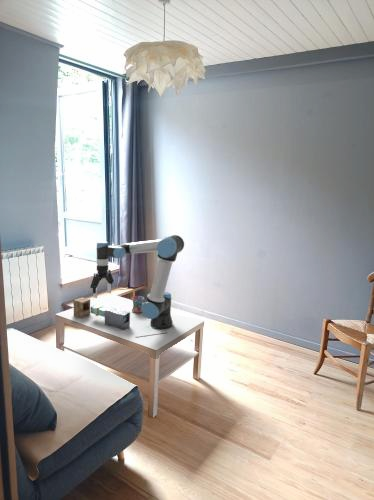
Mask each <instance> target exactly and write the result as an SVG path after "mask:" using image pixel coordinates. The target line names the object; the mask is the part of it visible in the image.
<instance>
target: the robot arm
mask: <svg viewBox="0 0 374 500" xmlns="http://www.w3.org/2000/svg"><path fill="white" fill-rule="evenodd" d="M184 247H185V241H184V239H183V237H181V236H180V235H177V234H174V235H169V236H166V237H163V238H162V239H154V240H144V241H136V242H125V243H122V244H118V245H110V244H109V242H108V241H105V240H104V241H101V240H100V241H98V242H96V249H95V250H96V271H97V272H95V273H93V277H92V280H91V283H90V289H92V293H93V294H92V296H93V298H94V299H98V286H99V284H100V282H101V280H103V279H105V280H106V281H107V284H106V285H107V290H106V292H107V294H112V285H113V284H114V282H115V280H114V277H113V274H112V273H111V272H112V271H111V269H109V258H115V259H124V257H125V256H126V255H134V254H135V255H136V254H143V253H152V252H153V253H155V252H157V259H158V262H157V265H156V269H155V274H154V277H153V281H152V285H151V289H150V293H148V294H147V296H146V297H145V299H146V300H145V303H144V302H143V305H142V307H141V310H142V312H141V313H142V314H143V316H144V317H145V318H147V319H148V320H149V319H150V327H151V328H154V329H158V330H166V329H167V330H168V329H170V328H172V327H173V325H174V324H173V320H172V316H171V315H172V314H171V310H172V309H171V307H172V294H171V293H170V292H169V291H168V292H167V291H166V287H167V284H168V281H169V276H170V274H171V269H172V265H173V263H174V262H175V261H176V260H177V256H178V254H179V253H181V252H182V251H183V249H184Z"/></svg>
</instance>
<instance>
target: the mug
mask: <svg viewBox="0 0 374 500" xmlns="http://www.w3.org/2000/svg"><path fill="white" fill-rule="evenodd" d="M131 300H132V308H131V311H132V313H137V314H139V313H142V310H141V307H142V305H143V303H145V302H146V297H145V296H142V295H135V296H132V297H131Z"/></svg>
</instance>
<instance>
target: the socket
mask: <svg viewBox="0 0 374 500" xmlns="http://www.w3.org/2000/svg"><path fill="white" fill-rule="evenodd" d="M73 316H75V317H76V318H81V319H84V318H86V317H89V316H91V299H89V298H87V297H79V298H76V299H73ZM83 317H84V318H83Z"/></svg>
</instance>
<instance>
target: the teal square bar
mask: <svg viewBox="0 0 374 500" xmlns="http://www.w3.org/2000/svg"><path fill="white" fill-rule="evenodd" d="M106 309H108V308H107V307H104V305H96V304H94V305H92V306H91V305H90V314H92V315H95V317H98V316H100V317H103V318H105V310H106ZM126 320H127V315H125V316H124V321H126Z"/></svg>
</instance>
